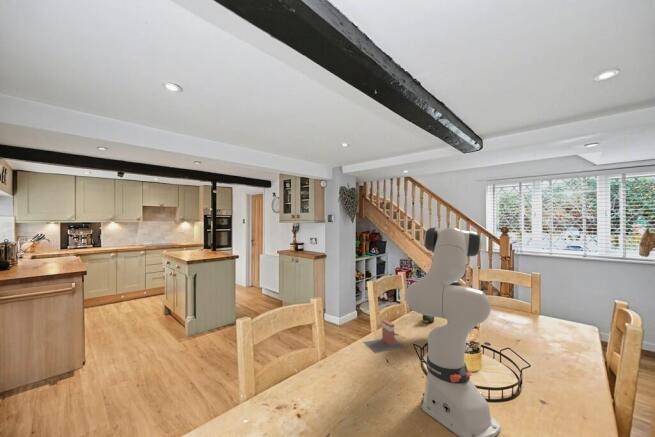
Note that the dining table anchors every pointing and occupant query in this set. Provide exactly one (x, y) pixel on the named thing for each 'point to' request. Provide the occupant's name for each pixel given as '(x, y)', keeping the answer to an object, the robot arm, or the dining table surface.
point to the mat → (383, 345)
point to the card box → (388, 332)
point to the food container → (428, 319)
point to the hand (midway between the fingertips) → (408, 300)
